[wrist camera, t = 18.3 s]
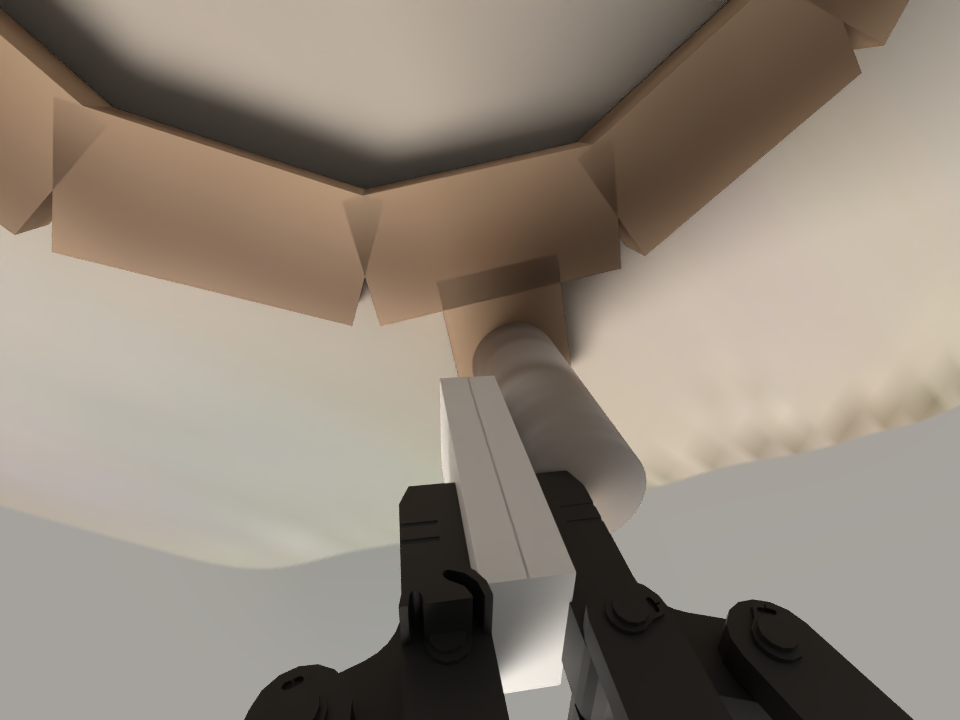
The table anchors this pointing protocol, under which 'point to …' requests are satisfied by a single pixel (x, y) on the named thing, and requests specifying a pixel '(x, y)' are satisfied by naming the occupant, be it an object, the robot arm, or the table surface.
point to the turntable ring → (436, 208)
